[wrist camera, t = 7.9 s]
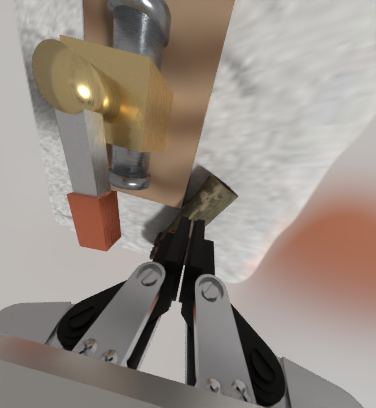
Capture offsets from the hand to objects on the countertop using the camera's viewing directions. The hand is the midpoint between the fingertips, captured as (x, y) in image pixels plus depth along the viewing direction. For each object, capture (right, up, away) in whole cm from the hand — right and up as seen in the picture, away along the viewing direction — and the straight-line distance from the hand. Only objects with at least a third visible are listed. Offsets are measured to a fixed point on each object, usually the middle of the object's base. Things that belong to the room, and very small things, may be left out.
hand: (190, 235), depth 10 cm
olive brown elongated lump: (0, -1, +14) cm, 15 cm away
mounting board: (-5, +15, +8) cm, 18 cm away
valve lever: (-7, +6, +3) cm, 10 cm away
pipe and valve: (-6, +13, +8) cm, 17 cm away
